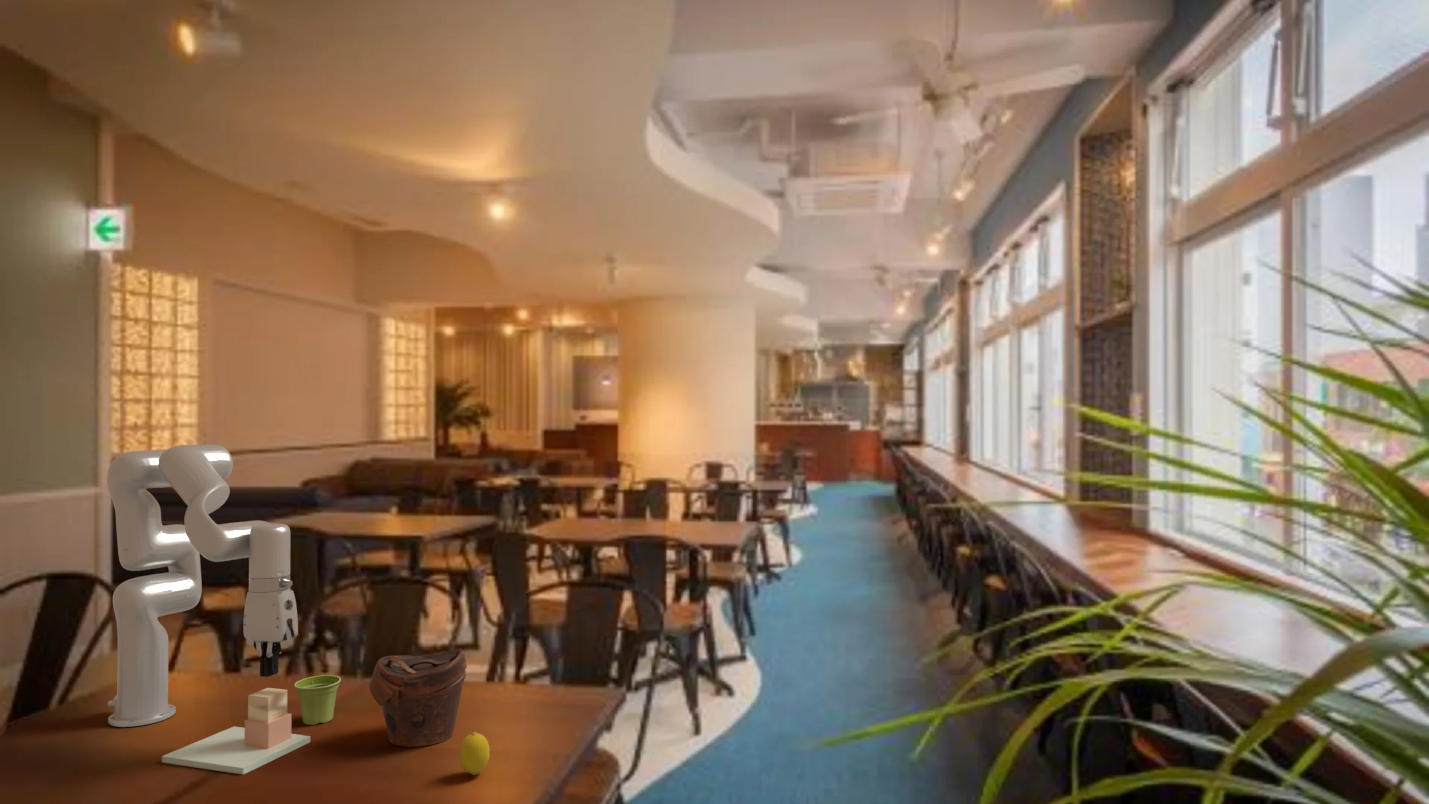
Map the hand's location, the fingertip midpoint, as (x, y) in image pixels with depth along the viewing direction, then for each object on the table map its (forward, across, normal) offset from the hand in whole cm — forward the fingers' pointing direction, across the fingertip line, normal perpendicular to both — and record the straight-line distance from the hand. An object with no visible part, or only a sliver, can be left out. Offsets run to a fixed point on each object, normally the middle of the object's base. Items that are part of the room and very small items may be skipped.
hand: (269, 674), depth 174 cm
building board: (+15, +4, +4) cm, 16 cm away
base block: (+14, 0, 0) cm, 14 cm away
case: (+15, -26, -14) cm, 33 cm away
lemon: (+15, -48, 0) cm, 50 cm away
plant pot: (+15, +2, -16) cm, 22 cm away
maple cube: (+9, 0, 0) cm, 9 cm away
